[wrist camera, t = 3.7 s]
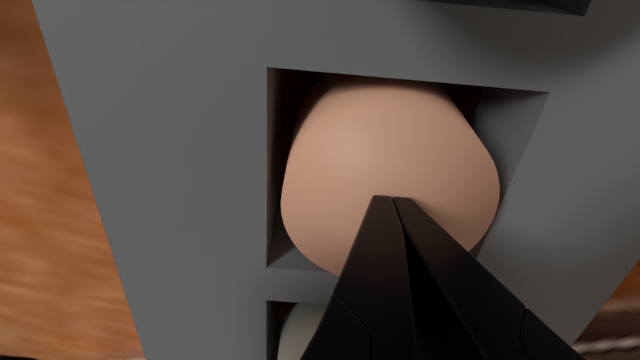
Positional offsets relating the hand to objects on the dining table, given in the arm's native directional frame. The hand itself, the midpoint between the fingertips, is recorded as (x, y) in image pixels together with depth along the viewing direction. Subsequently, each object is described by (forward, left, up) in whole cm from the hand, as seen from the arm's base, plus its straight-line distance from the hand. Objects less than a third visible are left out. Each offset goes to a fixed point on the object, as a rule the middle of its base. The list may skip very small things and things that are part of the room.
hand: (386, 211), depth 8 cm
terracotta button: (0, 0, -3) cm, 3 cm away
